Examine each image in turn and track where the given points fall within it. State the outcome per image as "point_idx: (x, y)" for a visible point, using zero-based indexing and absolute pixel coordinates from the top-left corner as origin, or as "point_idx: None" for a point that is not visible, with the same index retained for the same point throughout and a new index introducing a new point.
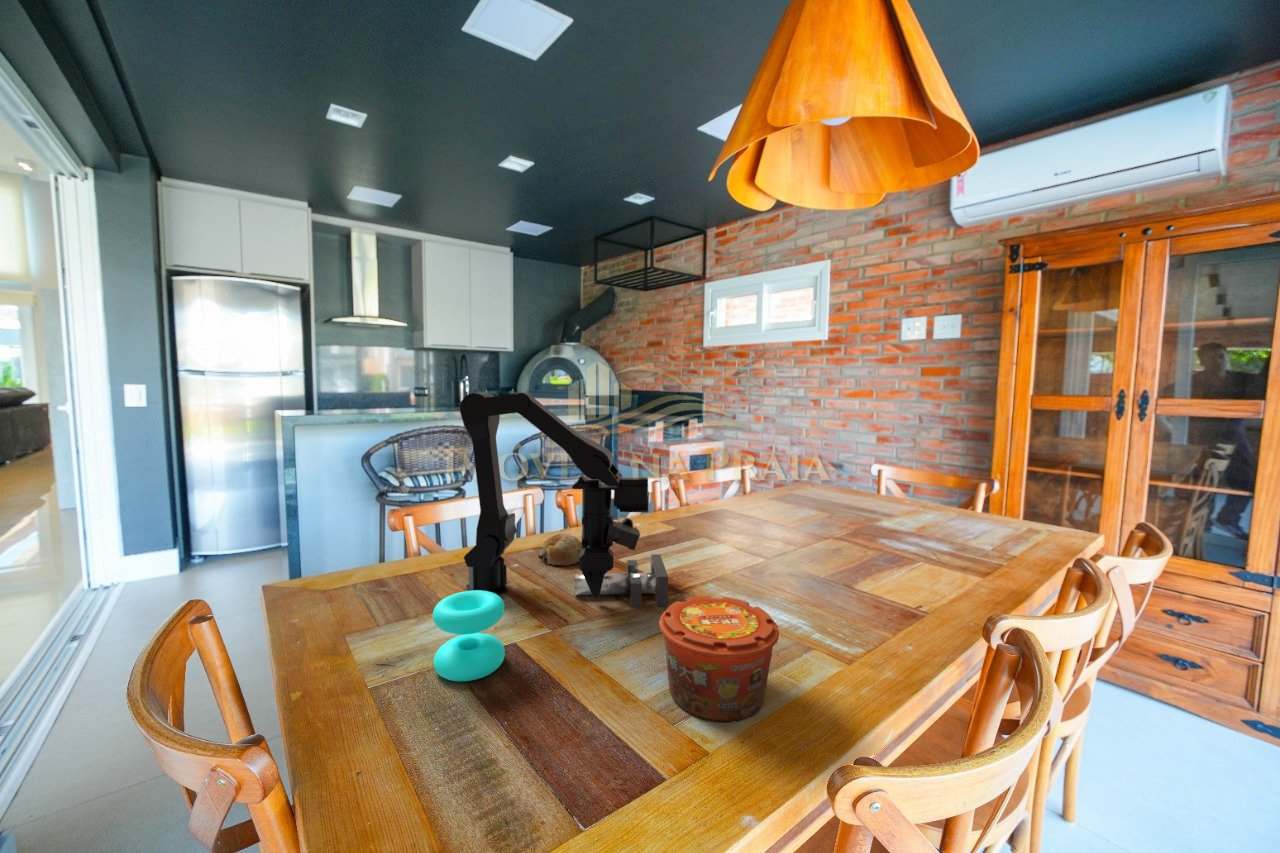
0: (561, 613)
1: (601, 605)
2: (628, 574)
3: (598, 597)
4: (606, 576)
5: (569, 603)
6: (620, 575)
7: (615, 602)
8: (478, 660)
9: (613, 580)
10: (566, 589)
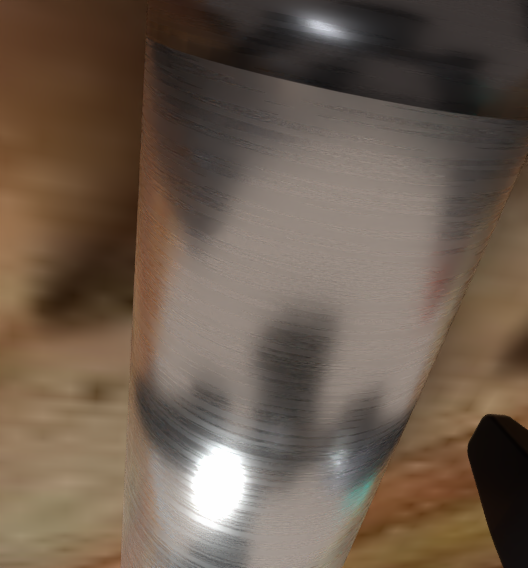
0: (493, 557)
1: (506, 351)
2: (469, 19)
3: (503, 417)
4: (361, 462)
5: (369, 526)
6: (422, 242)
7: (509, 225)
8: None
9: (438, 341)
10: (110, 540)
